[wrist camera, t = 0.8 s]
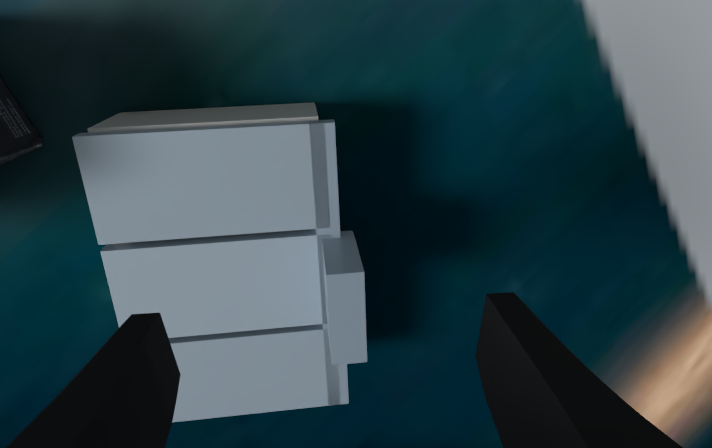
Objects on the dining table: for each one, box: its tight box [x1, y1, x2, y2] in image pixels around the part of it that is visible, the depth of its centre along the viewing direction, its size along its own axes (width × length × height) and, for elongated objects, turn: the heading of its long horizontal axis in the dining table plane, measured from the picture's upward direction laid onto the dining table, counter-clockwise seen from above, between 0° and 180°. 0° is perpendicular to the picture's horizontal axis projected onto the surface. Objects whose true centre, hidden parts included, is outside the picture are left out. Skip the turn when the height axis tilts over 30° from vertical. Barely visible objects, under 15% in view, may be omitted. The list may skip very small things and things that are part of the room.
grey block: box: [87, 103, 318, 244], centre depth 24 cm, size 14×9×4 cm, turn 2°
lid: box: [72, 119, 367, 422], centre depth 20 cm, size 14×10×4 cm
